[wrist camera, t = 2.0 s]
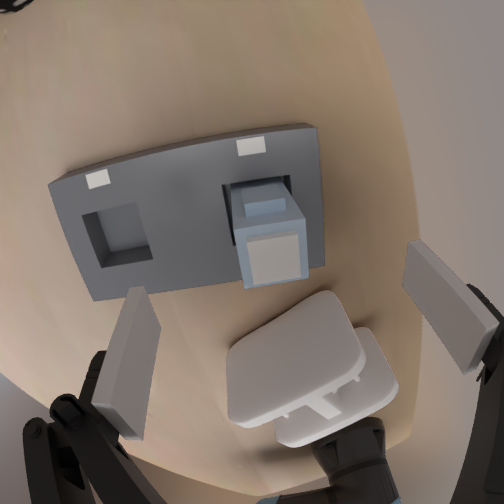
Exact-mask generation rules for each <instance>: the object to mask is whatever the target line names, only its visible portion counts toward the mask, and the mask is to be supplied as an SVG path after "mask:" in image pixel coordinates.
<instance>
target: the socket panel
mask: <svg viewBox="0 0 504 504" xmlns="http://www.w3.org/2000/svg"><path fill="white" fill-rule="evenodd" d="M276 176H279V177H280V179H281V181H282V182H283V184H284V185H285V187H286V188H287V190H288V191H289V193H290V195H291V196H292V198H293V199H294V201H295V202H296V204H297V206H298V207H299V209H300V210H301V212H302V214H303V215H304V217H305V220H306V235H307V251H308V269H310V268H315V267H321V266H325V252H324V223H323V202H322V185H321V170H320V157H319V145H318V134H317V127H314V126H312V125H309V124H306V123H302V124H292V125H283V126H274V127H266V128H259V129H252V130H245V131H238V132H232V133H226V134H220V135H215V136H209V137H204V138H198V139H193V140H188V141H184V142H179V143H174V144H170V145H165V146H161V147H157V148H152V149H148V150H144V151H140V152H136V153H133V154H129V155H125V156H121V157H118V158H114V159H111V160H107V161H104V162H100V163H97V164H94V165H90V166H87V167H84V168H81V169H78V170H75V171H72V172H69V173H66V174H64V175H62V176H61V177H59V178H58V179H56V180H54V181H53V182H51V183H50V184H48V188H49V191H50V194H51V197H52V200H53V203H54V206H55V209H56V212H57V215H58V218H59V221H60V223H61V226H62V229H63V231H64V234H65V237H66V239H67V242H68V244H69V247H70V249H71V252H72V254H73V257H74V259H75V261H76V264H77V266H78V268H79V271H80V273H81V275H82V277H83V280H84V282H85V284H86V286H87V288H88V290H89V293H90V295H91V297H92V299H93V301H101V300H109V299H116V298H124V297H126V296H127V294H128V291H129V288H133V287H140V286H144V288H145V290H146V293H147V294H153V293H160V292H166V291H173V290H180V289H187V288H193V287H200V286H207V285H213V284H219V283H226V282H232V281H238V280H243V279H242V273H241V268H240V263H239V257H238V252H237V247H236V241H235V236H234V231H233V218H232V203H231V188H230V184H231V183H237V182H243V181H249V180H256V179H262V178H269V177H276Z"/></svg>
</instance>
